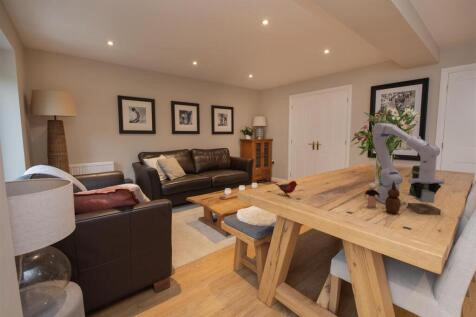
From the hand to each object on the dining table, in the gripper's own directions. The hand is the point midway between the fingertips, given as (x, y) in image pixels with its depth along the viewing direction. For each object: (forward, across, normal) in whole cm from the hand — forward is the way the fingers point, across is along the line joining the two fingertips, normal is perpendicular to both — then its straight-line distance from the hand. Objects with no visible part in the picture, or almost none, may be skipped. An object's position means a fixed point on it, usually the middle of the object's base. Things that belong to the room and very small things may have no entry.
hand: (424, 198), depth 106 cm
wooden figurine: (+7, -16, -4) cm, 18 cm away
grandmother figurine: (+7, -23, +2) cm, 24 cm away
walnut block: (+7, 0, 0) cm, 7 cm away
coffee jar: (+7, +17, +30) cm, 35 cm away
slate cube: (+1, 0, 0) cm, 1 cm away
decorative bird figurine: (+7, -65, +18) cm, 68 cm away
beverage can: (+7, -3, +30) cm, 31 cm away
